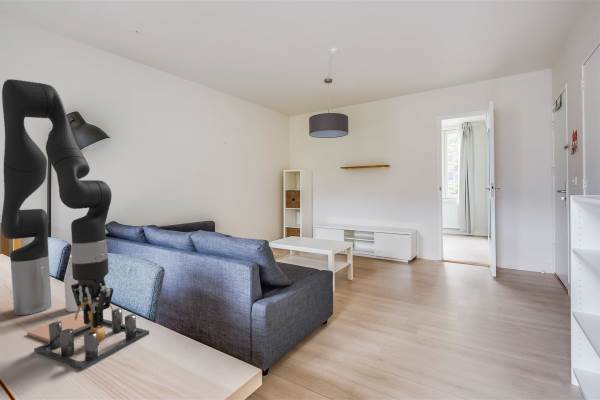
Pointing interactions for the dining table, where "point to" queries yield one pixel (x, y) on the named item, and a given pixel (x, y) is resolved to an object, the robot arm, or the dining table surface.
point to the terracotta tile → (66, 324)
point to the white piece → (70, 290)
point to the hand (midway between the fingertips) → (93, 323)
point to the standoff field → (89, 340)
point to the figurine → (99, 330)
